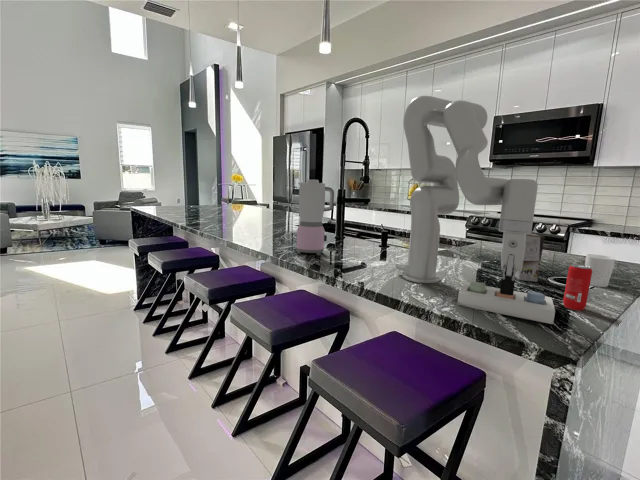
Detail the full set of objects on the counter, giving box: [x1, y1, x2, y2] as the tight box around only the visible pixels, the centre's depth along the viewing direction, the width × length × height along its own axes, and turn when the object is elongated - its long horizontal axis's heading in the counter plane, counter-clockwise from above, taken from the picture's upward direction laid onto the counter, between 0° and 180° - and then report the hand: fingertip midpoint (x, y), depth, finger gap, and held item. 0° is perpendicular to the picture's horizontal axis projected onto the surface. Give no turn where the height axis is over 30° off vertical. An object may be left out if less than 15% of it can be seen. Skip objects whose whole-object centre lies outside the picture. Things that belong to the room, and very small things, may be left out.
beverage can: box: [562, 263, 592, 312], centre depth 95 cm, size 5×5×12 cm
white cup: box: [584, 253, 616, 288], centre depth 120 cm, size 8×8×10 cm
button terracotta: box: [497, 291, 514, 299], centre depth 94 cm, size 4×4×3 cm
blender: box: [295, 178, 335, 256], centre depth 150 cm, size 16×12×32 cm
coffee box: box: [514, 232, 545, 283], centre depth 124 cm, size 9×6×16 cm
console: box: [456, 282, 556, 325], centre depth 94 cm, size 22×12×3 cm, turn 60°
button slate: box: [526, 291, 546, 305], centre depth 90 cm, size 4×4×3 cm
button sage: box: [469, 281, 487, 294], centre depth 97 cm, size 4×4×3 cm
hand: (506, 293), depth 93 cm, fingers closed
